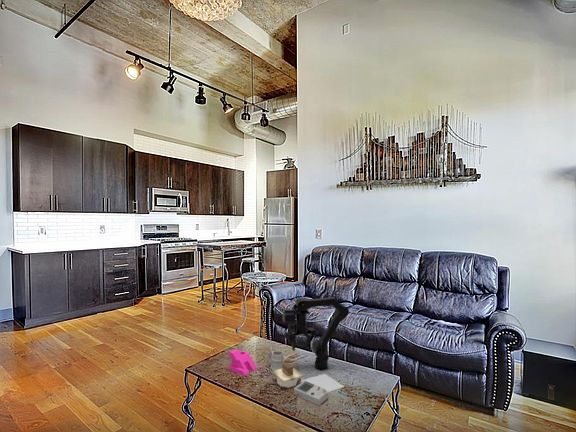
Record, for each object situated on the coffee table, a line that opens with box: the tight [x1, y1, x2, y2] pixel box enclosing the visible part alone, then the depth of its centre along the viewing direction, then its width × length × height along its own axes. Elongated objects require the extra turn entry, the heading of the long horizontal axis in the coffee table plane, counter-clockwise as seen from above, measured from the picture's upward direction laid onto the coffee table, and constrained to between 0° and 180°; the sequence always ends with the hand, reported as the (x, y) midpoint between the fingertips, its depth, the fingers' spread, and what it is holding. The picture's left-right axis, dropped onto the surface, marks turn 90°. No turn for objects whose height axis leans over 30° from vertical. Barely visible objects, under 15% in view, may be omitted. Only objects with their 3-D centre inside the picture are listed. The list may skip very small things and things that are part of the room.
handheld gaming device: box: [293, 379, 329, 406], centre depth 156 cm, size 9×15×4 cm, turn 50°
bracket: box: [228, 348, 258, 377], centre depth 183 cm, size 12×10×10 cm
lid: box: [271, 362, 304, 382], centre depth 169 cm, size 12×12×5 cm
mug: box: [266, 345, 285, 372], centre depth 184 cm, size 8×12×12 cm, turn 47°
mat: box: [300, 373, 345, 393], centre depth 168 cm, size 16×16×1 cm
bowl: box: [276, 376, 299, 388], centre depth 169 cm, size 10×10×4 cm
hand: (300, 349), depth 184 cm, fingers open, 9 cm apart
